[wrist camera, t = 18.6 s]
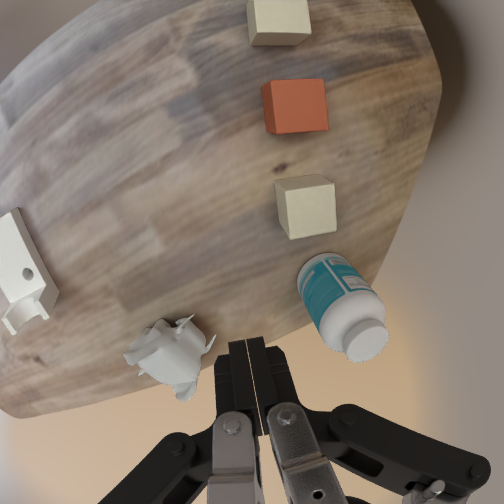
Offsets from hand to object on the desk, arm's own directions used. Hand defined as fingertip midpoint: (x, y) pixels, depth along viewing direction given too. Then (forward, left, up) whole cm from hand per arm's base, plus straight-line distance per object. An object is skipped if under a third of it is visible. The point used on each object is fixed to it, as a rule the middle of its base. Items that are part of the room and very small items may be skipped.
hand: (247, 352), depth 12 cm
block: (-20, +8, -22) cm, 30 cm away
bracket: (+1, -28, -22) cm, 35 cm away
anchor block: (-10, +8, -22) cm, 25 cm away
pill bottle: (+11, +11, -22) cm, 27 cm away
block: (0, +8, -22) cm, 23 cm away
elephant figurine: (+16, -10, -22) cm, 29 cm away
